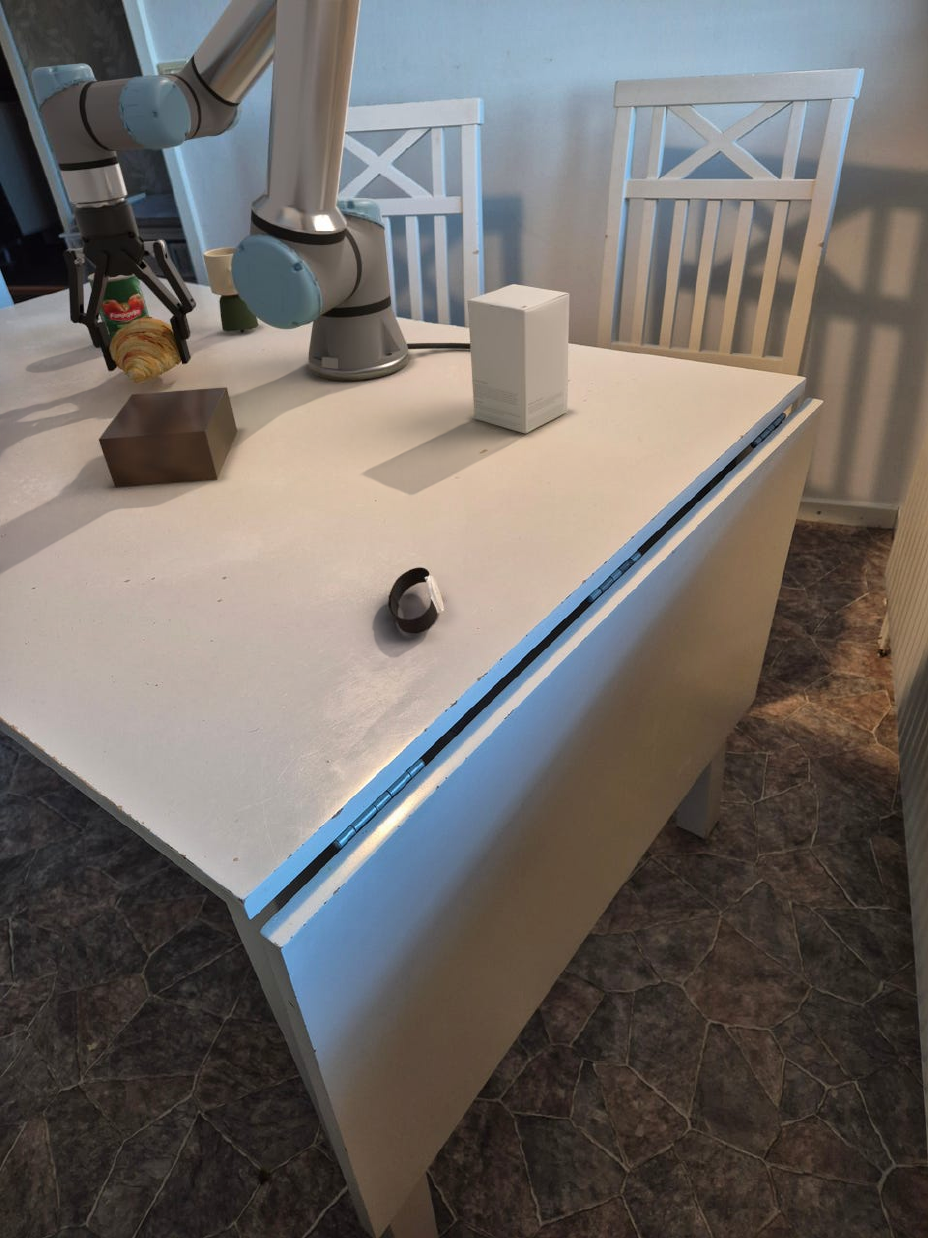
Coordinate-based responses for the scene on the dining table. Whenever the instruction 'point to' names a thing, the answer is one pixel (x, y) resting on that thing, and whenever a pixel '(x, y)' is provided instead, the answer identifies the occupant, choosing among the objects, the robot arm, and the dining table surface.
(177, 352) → the croissant
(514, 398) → the white product box
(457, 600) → the dining table surface
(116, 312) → the canned tomato
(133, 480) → the walnut block
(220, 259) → the character mug
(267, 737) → the dining table surface
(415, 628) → the watch
